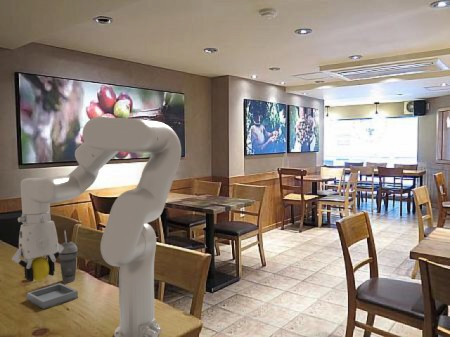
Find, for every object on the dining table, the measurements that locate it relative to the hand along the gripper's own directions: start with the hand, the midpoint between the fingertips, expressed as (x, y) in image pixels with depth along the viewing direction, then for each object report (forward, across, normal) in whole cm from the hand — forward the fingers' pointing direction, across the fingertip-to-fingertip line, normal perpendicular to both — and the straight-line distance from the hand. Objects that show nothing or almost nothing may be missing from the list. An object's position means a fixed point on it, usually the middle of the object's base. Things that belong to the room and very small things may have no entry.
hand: (40, 277), depth 115 cm
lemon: (+2, 0, 0) cm, 2 cm away
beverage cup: (+13, +22, +26) cm, 37 cm away
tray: (+13, +10, +13) cm, 21 cm away
